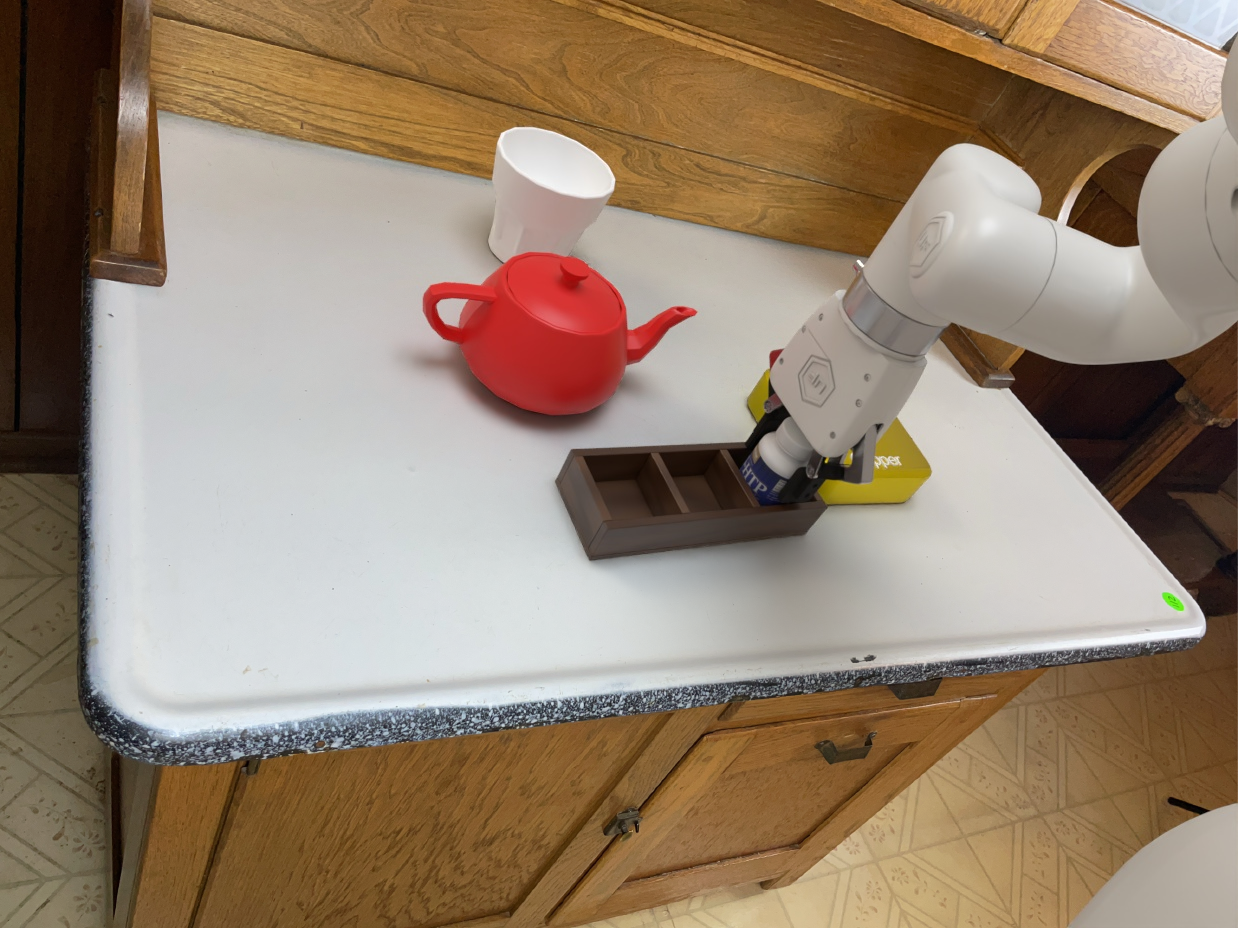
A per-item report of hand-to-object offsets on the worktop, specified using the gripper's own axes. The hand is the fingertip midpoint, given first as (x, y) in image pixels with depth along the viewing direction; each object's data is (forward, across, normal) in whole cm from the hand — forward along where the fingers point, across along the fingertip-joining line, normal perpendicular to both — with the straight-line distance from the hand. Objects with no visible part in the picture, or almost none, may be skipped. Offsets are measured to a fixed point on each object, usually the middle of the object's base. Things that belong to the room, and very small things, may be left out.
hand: (775, 471), depth 75 cm
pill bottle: (+4, 0, 0) cm, 4 cm away
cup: (+5, -36, -10) cm, 38 cm away
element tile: (+5, -6, +14) cm, 16 cm away
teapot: (+5, -17, -15) cm, 23 cm away
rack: (+5, 0, -7) cm, 9 cm away
